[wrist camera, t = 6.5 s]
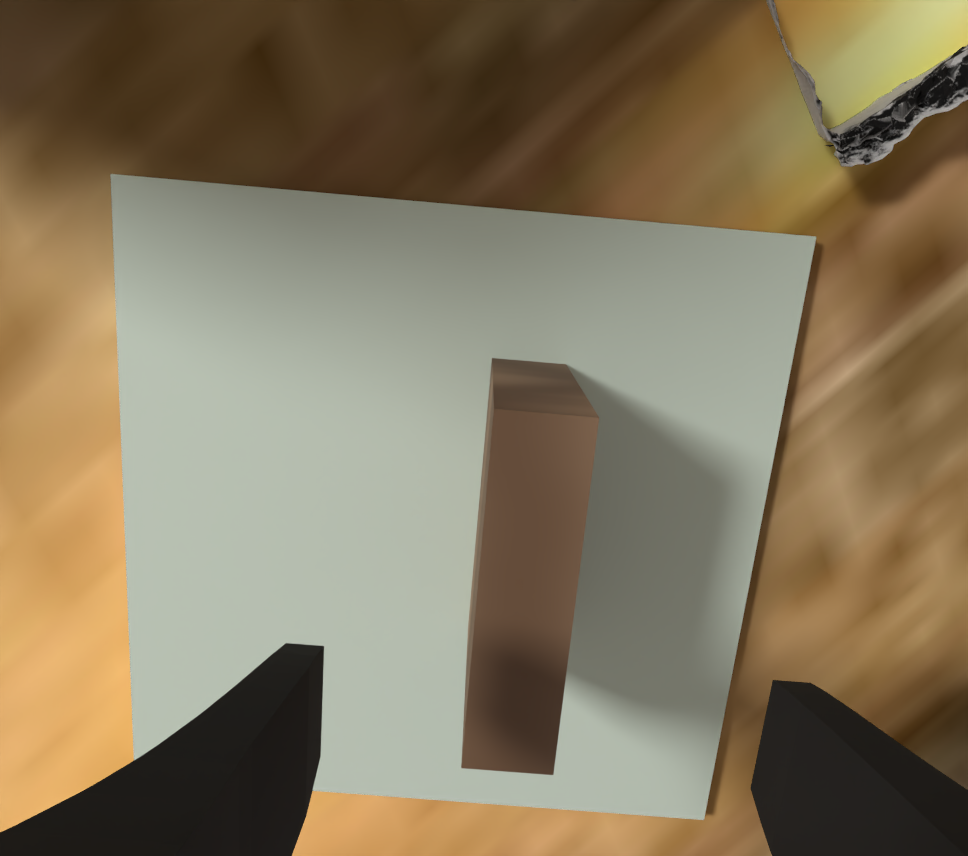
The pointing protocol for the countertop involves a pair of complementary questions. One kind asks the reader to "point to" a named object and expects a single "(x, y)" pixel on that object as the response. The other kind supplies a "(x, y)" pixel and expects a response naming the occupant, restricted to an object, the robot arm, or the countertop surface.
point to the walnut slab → (526, 564)
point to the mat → (440, 468)
